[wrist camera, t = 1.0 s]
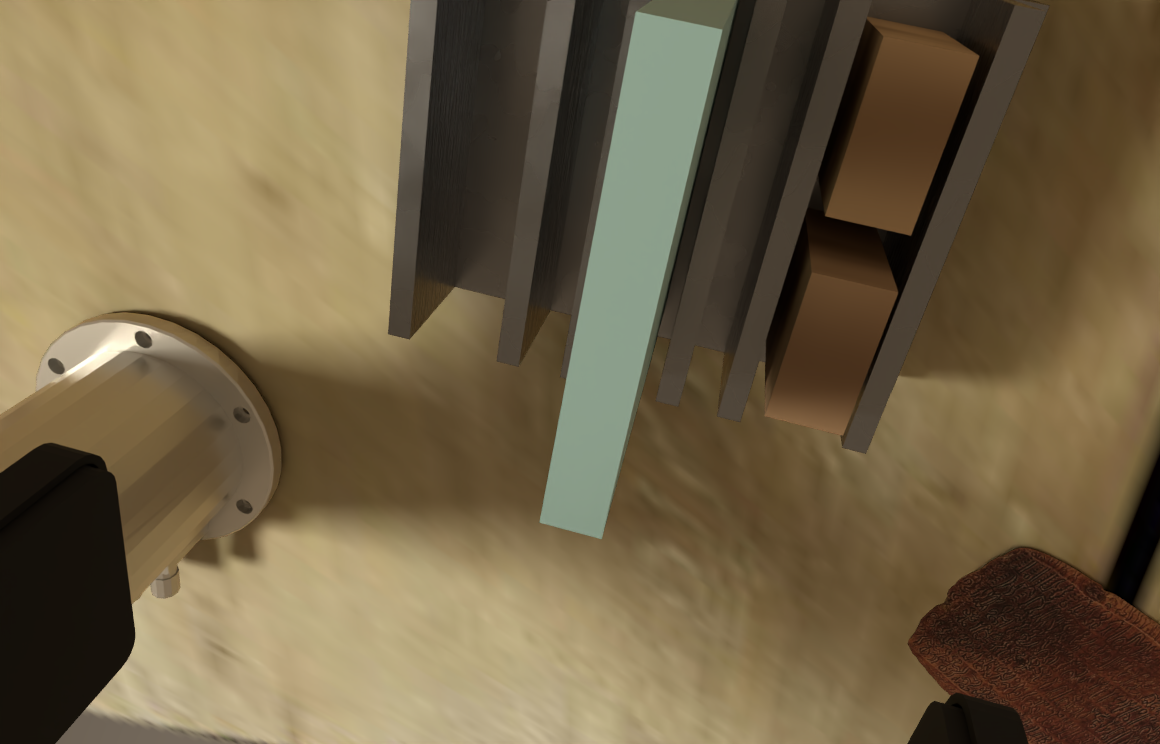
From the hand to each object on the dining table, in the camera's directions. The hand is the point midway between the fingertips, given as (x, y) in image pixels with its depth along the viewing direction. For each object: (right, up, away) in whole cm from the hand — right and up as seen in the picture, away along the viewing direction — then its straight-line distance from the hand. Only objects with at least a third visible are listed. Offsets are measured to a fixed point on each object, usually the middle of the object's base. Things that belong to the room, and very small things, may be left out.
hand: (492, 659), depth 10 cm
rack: (+5, +12, +22) cm, 25 cm away
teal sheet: (+4, +11, +21) cm, 24 cm away
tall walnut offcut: (+10, +7, +22) cm, 25 cm away
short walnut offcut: (+11, +12, +19) cm, 25 cm away
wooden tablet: (+28, -14, +31) cm, 44 cm away
